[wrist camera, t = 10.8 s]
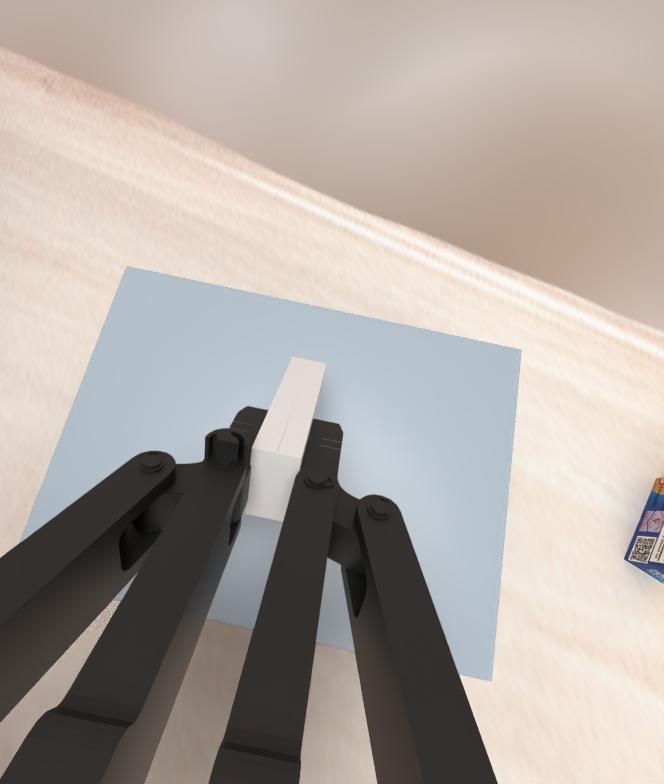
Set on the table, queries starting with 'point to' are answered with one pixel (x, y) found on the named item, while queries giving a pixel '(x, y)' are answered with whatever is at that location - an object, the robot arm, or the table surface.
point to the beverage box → (650, 536)
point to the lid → (337, 404)
